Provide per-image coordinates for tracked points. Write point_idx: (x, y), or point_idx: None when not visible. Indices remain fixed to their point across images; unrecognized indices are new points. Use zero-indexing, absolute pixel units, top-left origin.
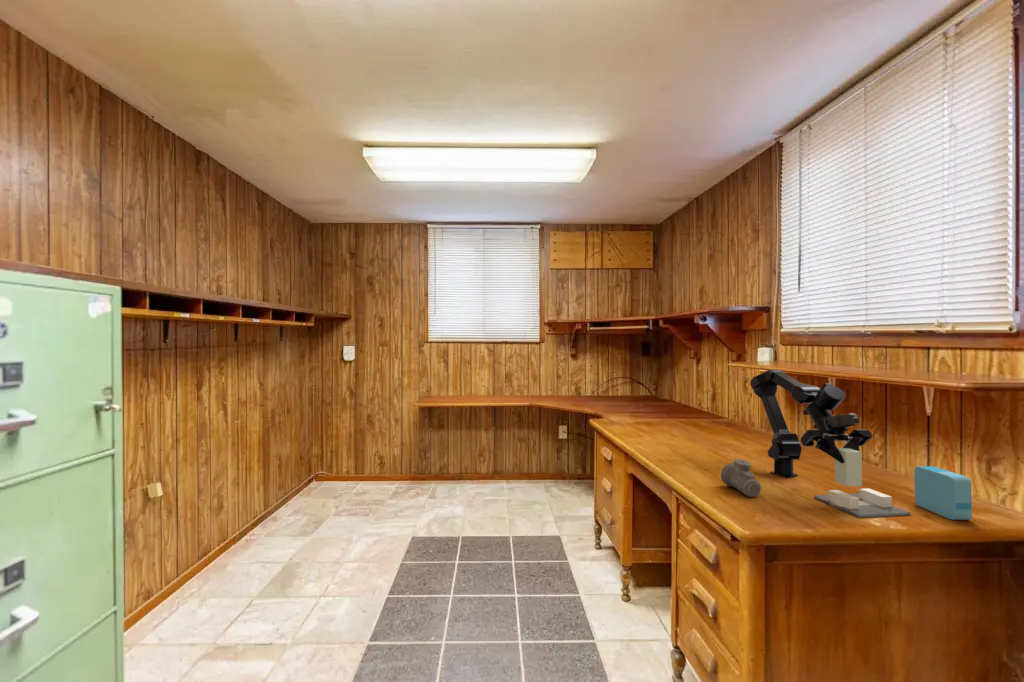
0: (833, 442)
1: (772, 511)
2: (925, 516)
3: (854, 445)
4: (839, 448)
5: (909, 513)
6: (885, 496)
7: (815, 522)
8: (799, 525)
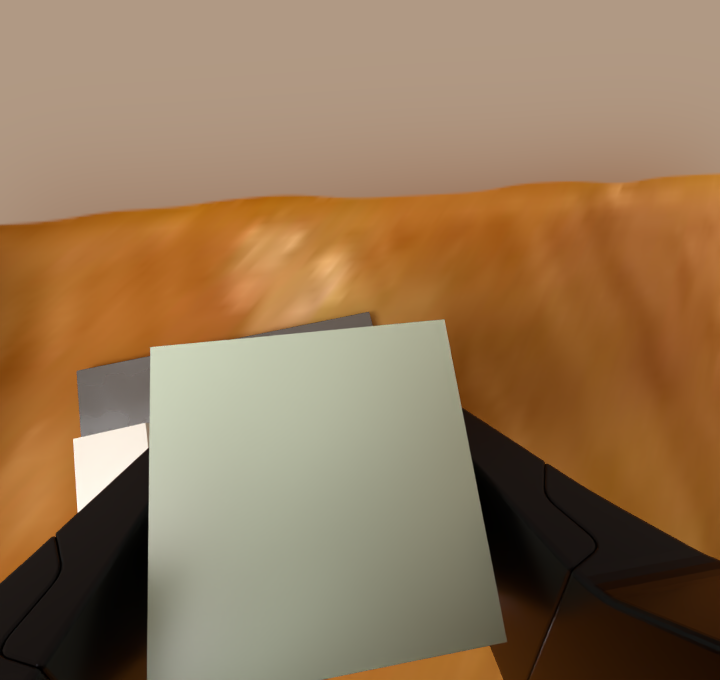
0: (668, 609)
1: (698, 356)
2: (20, 365)
3: (25, 657)
4: (404, 632)
5: (86, 370)
6: (114, 436)
7: (566, 259)
8: (633, 230)
